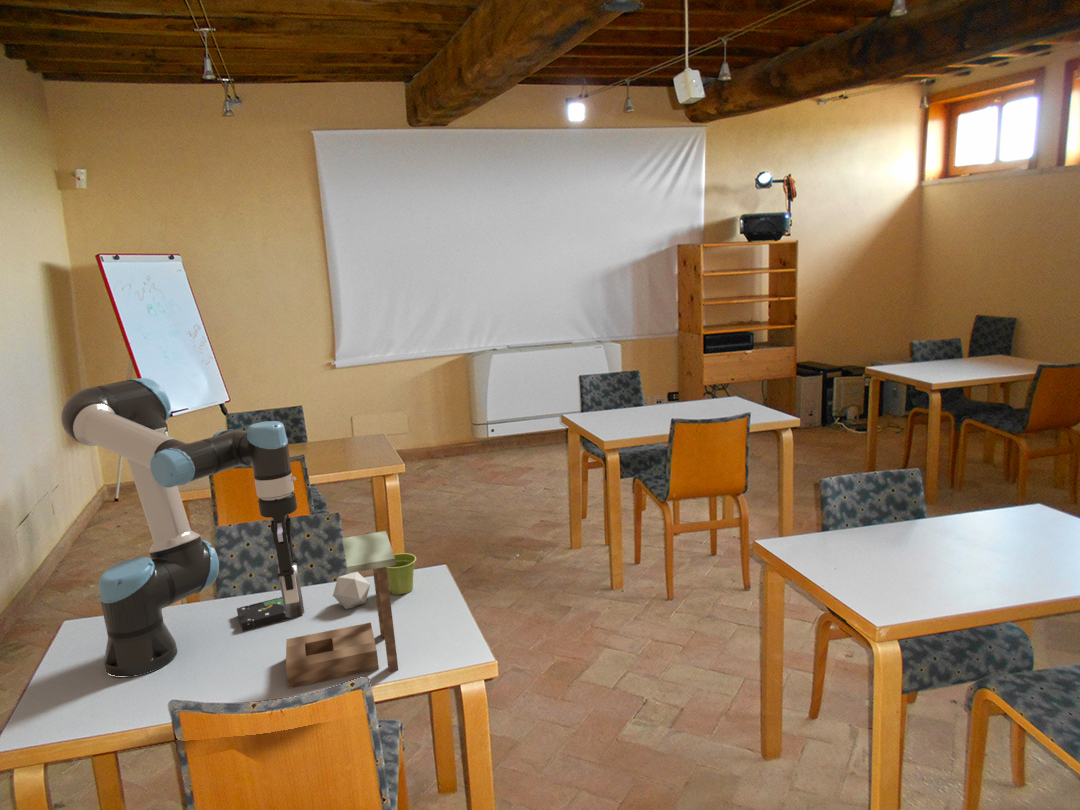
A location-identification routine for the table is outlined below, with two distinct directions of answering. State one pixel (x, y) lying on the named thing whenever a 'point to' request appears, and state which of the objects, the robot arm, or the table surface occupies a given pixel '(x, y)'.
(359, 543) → the socket stand
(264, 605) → the disk drive
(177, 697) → the table surface
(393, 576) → the plant pot
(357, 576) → the die
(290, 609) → the peg
